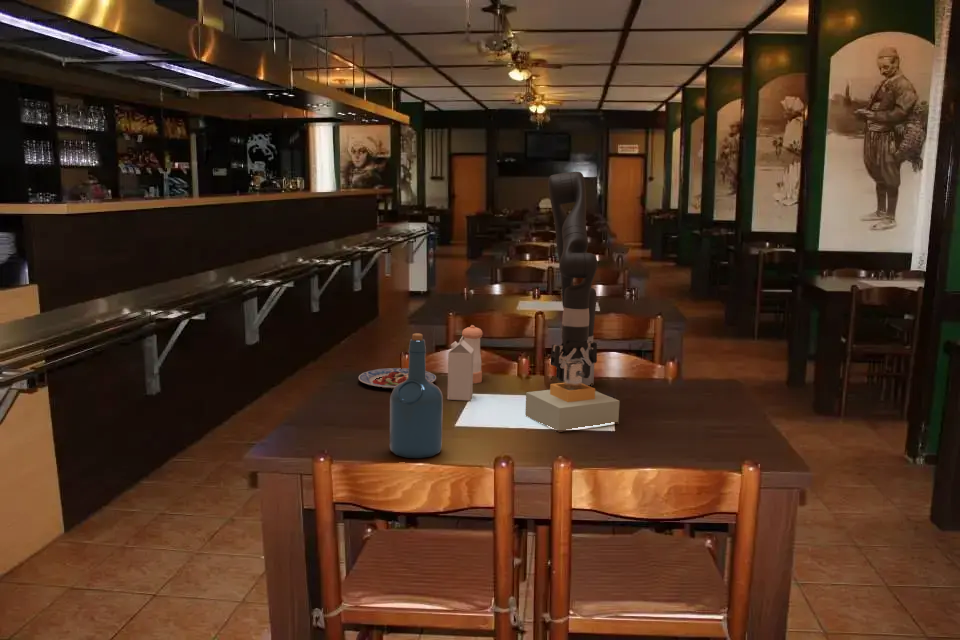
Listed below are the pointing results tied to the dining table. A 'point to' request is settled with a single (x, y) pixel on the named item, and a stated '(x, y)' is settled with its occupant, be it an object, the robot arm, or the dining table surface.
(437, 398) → the wine bottle
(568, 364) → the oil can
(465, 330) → the pepper shaker
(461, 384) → the milk carton
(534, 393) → the slab with orange tray
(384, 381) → the ceramic plate
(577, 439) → the dining table surface
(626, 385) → the dining table surface
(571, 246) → the robot arm
